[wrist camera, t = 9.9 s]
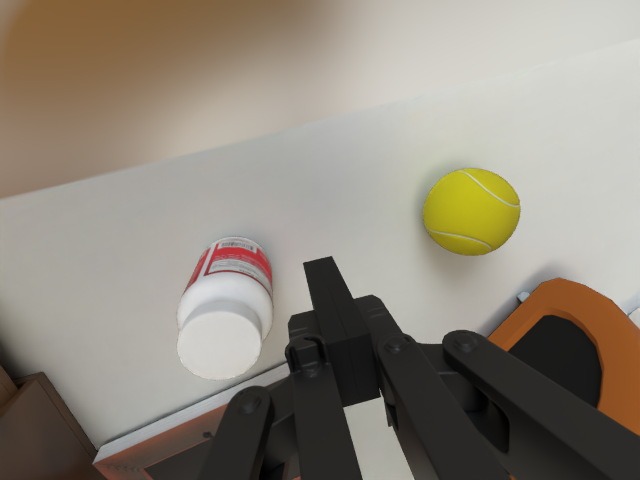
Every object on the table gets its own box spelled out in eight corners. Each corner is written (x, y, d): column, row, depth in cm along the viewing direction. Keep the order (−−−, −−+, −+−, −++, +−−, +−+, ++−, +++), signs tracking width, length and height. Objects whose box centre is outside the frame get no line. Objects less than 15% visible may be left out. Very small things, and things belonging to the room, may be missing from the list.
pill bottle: (223, 309, 30) (202, 407, 19) (185, 255, 27) (136, 334, 17) (283, 278, 29) (293, 360, 19) (249, 222, 27) (240, 280, 17)
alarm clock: (542, 262, 34) (781, 380, 18) (585, 303, 37) (822, 435, 21) (396, 413, 38) (488, 615, 22) (445, 439, 41) (557, 634, 25)
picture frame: (298, 354, 33) (103, 441, 32) (301, 371, 30) (90, 466, 30) (353, 452, 39) (188, 527, 38) (358, 473, 36) (183, 553, 36)
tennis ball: (434, 151, 28) (486, 159, 21) (495, 182, 30) (560, 198, 23) (397, 223, 29) (434, 250, 23) (456, 248, 31) (506, 280, 25)
